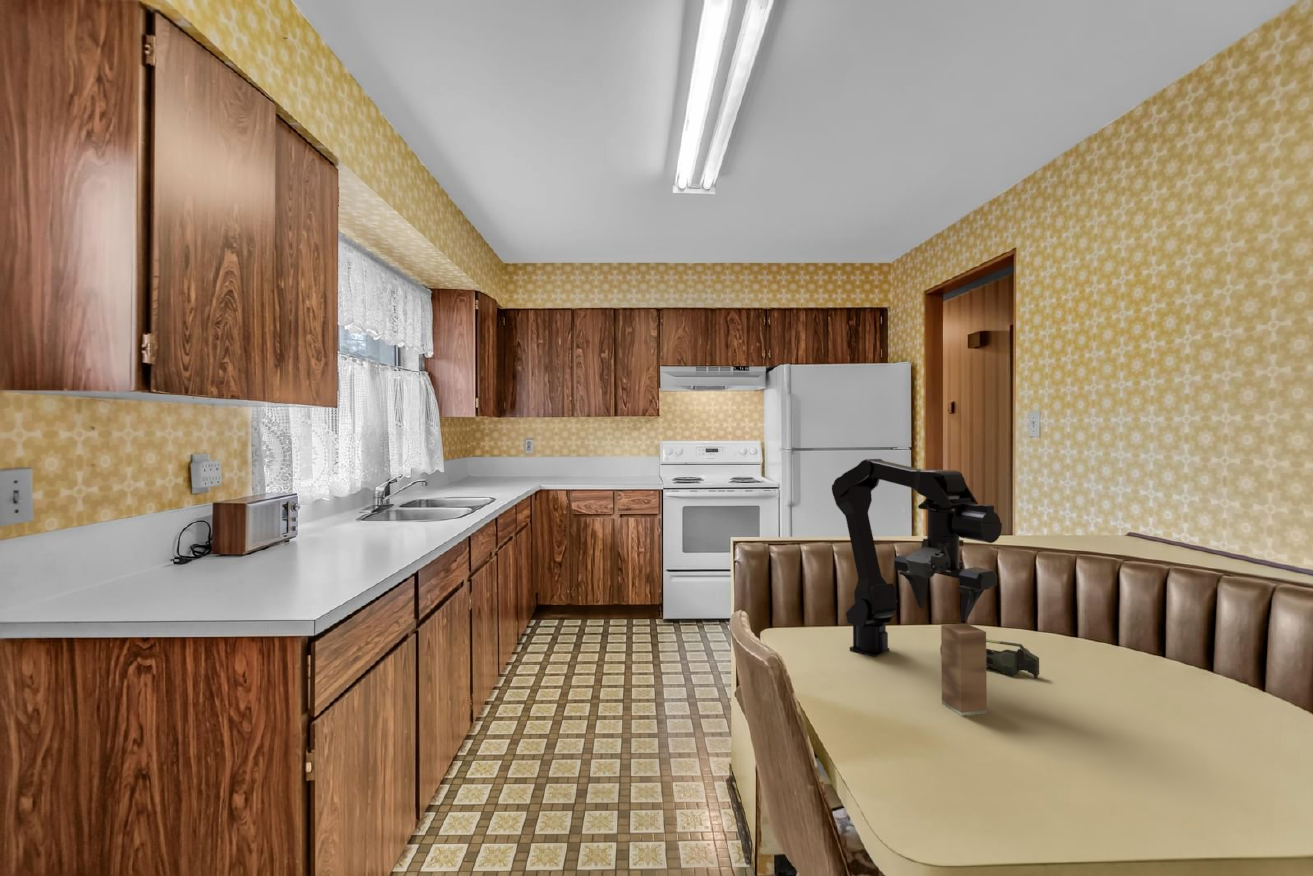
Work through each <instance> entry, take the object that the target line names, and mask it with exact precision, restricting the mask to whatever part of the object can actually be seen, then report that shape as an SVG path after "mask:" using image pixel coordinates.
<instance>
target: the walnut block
mask: <svg viewBox="0 0 1313 876" xmlns="http://www.w3.org/2000/svg"><path fill="white" fill-rule="evenodd" d="M940 627H941V628H940V631H941V632H940V634H941V635H940V637H941V638H940V639H941V640H940V642H941V643H940V647H941V651H940V656H941V659H940V660H941V661H940V662H941V704H942V705H943V706H944V705H945V706H944V707H946V708H947V709H949V710H951V711H952V712H953V713H955V712H956V713H955V714H957V715H959V716H961V717H965V716H964V715H967V716H975V714H977V715H985V714H988V712H987V710H988V705H987V704H988V703H987V702H988V701H987V697H988V696H987V694H988V693H987V691H988V690H987V667H986V649H987V642H986V639H987V631H985V630H983V629H980V628H978V627H976V626H974V625H970V624H969V623H967V622H966V623H964V622H963V623H954V624H952V623H951V624H941V625H940ZM972 714H973V715H972Z"/></svg>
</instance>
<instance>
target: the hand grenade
mask: <svg viewBox="0 0 1313 876" xmlns="http://www.w3.org/2000/svg"><path fill="white" fill-rule="evenodd" d="M986 643H990V644H999V645H1005V646H1012V647H1019V648H1018V649H1017V650H1012V649H1004V650H1002V651H1000V650H995V649H989V648H986V668H991V669H994V670H998V671H1000V672H1001V673H1002V674H1004V673H1005V675H1009V676H1013V677H1016V676H1017V675H1018V674H1019V673H1020V672H1022V671H1025V672H1027V673H1028V674H1031V675H1032V678H1033V679H1037V678H1038V677H1039V676H1040V657H1038V656H1037V655H1036V654H1033V653H1032V652H1030V650H1029V648H1025V647H1024V645H1023V644H1022V643H1016V642H1009V641H1008V642H1007V641H1002V640H1001V641H1000V640H994V639H989V638H988V639H987V638H986ZM939 649H940V652H941V646H940V647H939Z"/></svg>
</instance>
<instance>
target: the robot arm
mask: <svg viewBox="0 0 1313 876" xmlns="http://www.w3.org/2000/svg"><path fill="white" fill-rule="evenodd" d="M880 481H885V482H889V483H891V484H896V485H899V486H900V485H901V486H903V487H908V488H911V489H912V490H914V491H916V493H917V494H918V495H921V496H923V497H924V498H925V499H924V500H923V501H922V502H920V503H919V504H918V506H917V508H918V509H919V510H924V511H927V521H926V522H927V527H926V528H927V531H926V534H927V535H926V538H922V542H921V548H920V549H916V550H915V551H913V552H912V553H907V554H900V555H897V556H895V558H894V560H893V569H894V571H895V570H896V571H898V574H899V575H900V576H903V577H904V578H905V579H906V580H907V581H908V583H909V585H910V587H911V590H912V591H913V595H914V597H915V600H916V604H917V606H918V608H919V609H923V608H924V607H925V605H926V599H927V590H928V589H927V588H928V583H929V582H928V581H929V579H931V578H932V577H934V576H935V574H938V575H941V576H946V577H951V578H954V579H958V581H959V582H960V583H961V585H958V586H957V588H958V590H959V592H960V594H961V597H960V598H961V601H960V605H961V607H960V617H961V621H963V622H964V621H967V620H968V619H969V616H970V615H971V613H972V611H973V608H974V607H975V605H976V604H977V601H978V600H979V598H980V597H981V595H982V594H983V593H984V591H986V590H990V589H991V588H992V587H997V586H998V575H997V574H996V572H995V570H993V569H988V568H983V567H980V566H972V567H968V568H961V567H964V561H963V560H960V547H962V546H964V539H966V540H970V541H971V540H972V541H978V542H983V543H988V544H993V543H995V542H996V541H998V540H999V538H1000V536H1001V534H1002V528H1003V523H1002V522H1001V518H1000V516H999V515H998V513H997V512H995V506H994V505H993V504H979V502H978V501H977V499H976V497H975V496H974V494H973V493H972V490H970V488H969V487H968V485H967V483H966V479H965V478H964V476H963V473H962V472H961V471H958V470H957V469H956V470H955V469H920V468H917V467H913V466H908V465H904V464H899V463H895V462H891V461H885V460H884V459H881V458H866V459H863V460H861V461H860V462H859V463H858V464H857V465H856V466H854V467H853V468H851V469H849V470H848V471H845V472H844V473H843V474H842V475H840V476H838V477H837V478H836V479H835V480H834V482H833V484H831V492H832V495H833V499H834V501H835V505H836V506H837V507H838V510H840V511H841V512H842V514H843V515H844V516H845V520H846V524H847V525H846V526H847V529H848V535H849V539H850V545H851V549H852V554H853V559H854V565H855V569H856V574H857V583H856V586H855V589H854V593H853V594H854V604H853V605H852V606H851V607H850V608H849V609H848V610H847V611H846V612H845V617H846V620H847V623H848V624H851V625H852V642H853V643H852V646H850V647H848V648H849V651H851V652H855V653H858V654H859V653H860V654H864V655H867V656H871V657H875V658H877V657H879V656H881V655H883V654H885V653H887V652H889V651H890V647H889V639H888V638H889V636H888V635H889V633H888V631H886V629H887V628H886V627H887V625H886V624H891V623H892V620H893V616H894V615H895V613H896V611H897V608H898V607H897V606H898V605H897V603H898V601H899V600H898V598H897V596H896V591H895V585H894V584H893V582H891V583H888V582H887V581H886V580H885V578H884V577H883V576H882V573H881V569H880V564H879V558H878V554H877V550H876V546H875V541H874V536H873V530H872V527H871V522H870V517H869V511H870V507H871V503H872V500H873V499H872V491H873V490H875V489H876V488H877V487H878V486H879V483H880ZM960 538H961V539H960Z"/></svg>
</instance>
